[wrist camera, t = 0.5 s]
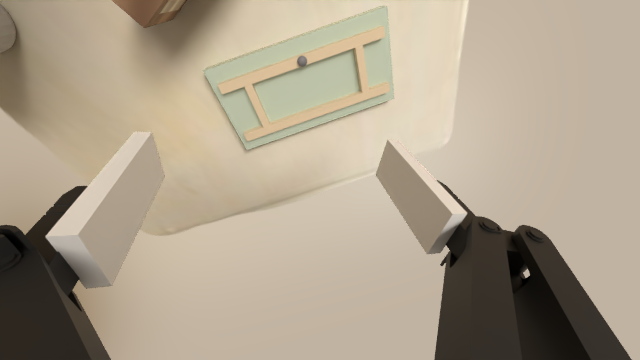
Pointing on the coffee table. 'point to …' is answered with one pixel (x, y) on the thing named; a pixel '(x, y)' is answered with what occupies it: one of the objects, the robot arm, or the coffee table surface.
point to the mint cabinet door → (307, 78)
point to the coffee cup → (6, 30)
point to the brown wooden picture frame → (150, 10)
